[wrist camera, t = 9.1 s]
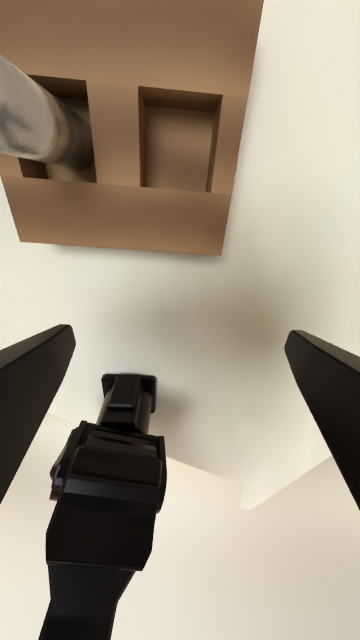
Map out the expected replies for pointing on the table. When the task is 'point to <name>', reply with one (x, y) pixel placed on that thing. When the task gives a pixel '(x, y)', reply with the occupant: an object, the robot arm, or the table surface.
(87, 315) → the table surface
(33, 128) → the pin
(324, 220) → the table surface
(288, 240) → the table surface
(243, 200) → the table surface
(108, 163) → the block
